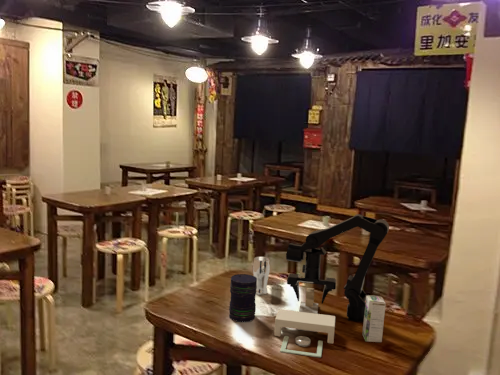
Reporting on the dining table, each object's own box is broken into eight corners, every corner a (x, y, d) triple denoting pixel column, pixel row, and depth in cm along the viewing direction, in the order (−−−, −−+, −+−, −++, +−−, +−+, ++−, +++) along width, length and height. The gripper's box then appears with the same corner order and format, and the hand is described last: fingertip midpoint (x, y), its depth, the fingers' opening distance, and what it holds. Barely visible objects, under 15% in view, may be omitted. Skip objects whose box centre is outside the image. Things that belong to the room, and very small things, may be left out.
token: (310, 341, 161) (311, 337, 161) (309, 348, 156) (310, 344, 156) (296, 339, 162) (296, 335, 162) (294, 346, 157) (294, 341, 157)
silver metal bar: (300, 305, 193) (301, 287, 192) (318, 307, 192) (319, 289, 191) (295, 330, 169) (297, 310, 168) (315, 332, 168) (317, 312, 167)
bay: (322, 342, 160) (322, 341, 160) (321, 357, 150) (321, 356, 150) (284, 337, 163) (284, 335, 163) (279, 351, 152) (280, 350, 152)
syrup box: (361, 334, 168) (365, 294, 166) (378, 335, 168) (382, 295, 166) (365, 341, 162) (368, 301, 160) (382, 342, 162) (386, 302, 160)
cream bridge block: (334, 332, 169) (335, 316, 168) (333, 343, 160) (334, 326, 159) (278, 324, 172) (278, 309, 172) (274, 335, 164) (275, 319, 163)
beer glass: (256, 296, 199) (257, 261, 197) (249, 290, 206) (251, 256, 203) (271, 294, 202) (273, 260, 200) (264, 289, 208) (265, 255, 206)
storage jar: (260, 319, 176) (262, 280, 174) (237, 324, 171) (239, 284, 169) (246, 309, 185) (248, 272, 183) (224, 314, 179) (225, 276, 177)
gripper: (337, 260, 191) (334, 297, 194) (291, 255, 195) (289, 292, 197) (337, 268, 180) (334, 308, 183) (287, 263, 184) (285, 302, 186)
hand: (310, 302), depth 187 cm, fingers open, 9 cm apart
